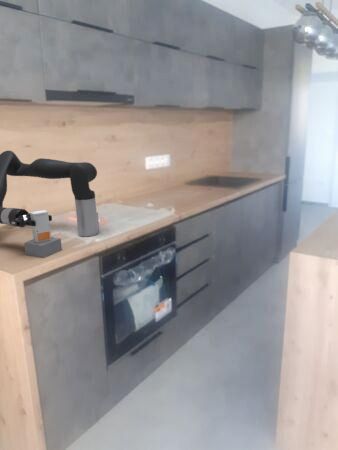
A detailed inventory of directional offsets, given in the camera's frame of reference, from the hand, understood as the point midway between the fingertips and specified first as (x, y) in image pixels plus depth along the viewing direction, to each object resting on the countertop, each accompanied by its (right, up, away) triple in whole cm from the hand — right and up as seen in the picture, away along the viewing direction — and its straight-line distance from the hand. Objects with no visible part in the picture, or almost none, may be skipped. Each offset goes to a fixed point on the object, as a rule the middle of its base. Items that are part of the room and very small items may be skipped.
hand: (43, 220), depth 146 cm
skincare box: (-1, -8, +4) cm, 9 cm away
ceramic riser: (-1, -13, +5) cm, 14 cm away
